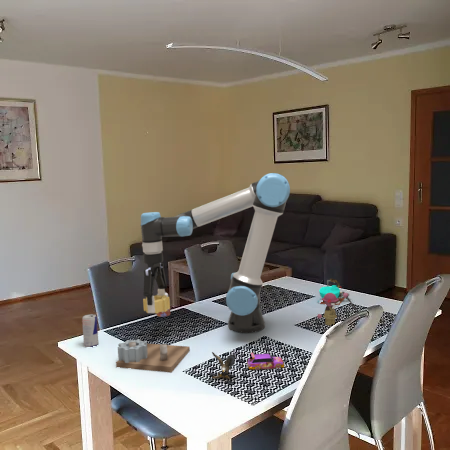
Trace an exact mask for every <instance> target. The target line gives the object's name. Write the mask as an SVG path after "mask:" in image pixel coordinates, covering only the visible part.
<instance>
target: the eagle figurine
mask: <svg viewBox="0 0 450 450" xmlns="http://www.w3.org/2000/svg"><path fill="white" fill-rule="evenodd" d="M211 353H212V356H213V357H215V359H217V360H218V364H219V366H220V367H221V372H217V375H215V376H212V378H213V379H216V378H217V379H220V378H225V379H228V380H230V379H231V378H230V376H229V370H230V371H231V370H232V368H231V367H233V366H234V365H235V361H236V359H237V358H236V357H237V356H236V355H235V354H232V353H231V354H229V355H228V356H227V357H226V358H225V362H223V360H222V359H221V357H220V356H218V355H217V354H216V353H215V352H213V351H212V352H211Z"/></svg>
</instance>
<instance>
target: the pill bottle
mask: <svg viewBox="0 0 450 450" xmlns="http://www.w3.org/2000/svg"><path fill="white" fill-rule="evenodd" d="M165 295H167V297H169V294H168V293H167V292H165ZM169 300H170V301H171V299H170V298H169ZM170 315H171V308H170V309H167V311H166V312H164V311H163V312H159V313H156V316H157V317H160V318H163V317H165V318H166V317H168V316H170Z"/></svg>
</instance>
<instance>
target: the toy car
mask: <svg viewBox="0 0 450 450" xmlns="http://www.w3.org/2000/svg"><path fill="white" fill-rule="evenodd" d="M250 355H251V356H250V357H249V358H248V359H247V361H246V364H247V367H248V369H249V370H255V371H257V370H258V371H260V370H267V369H268V370H269V369H271V370H273V369H281V368H285V363H284V360H283V359H282V357H280V356H272V355H271V354H270V353H258V354H254V352H250Z"/></svg>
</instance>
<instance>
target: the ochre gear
mask: <svg viewBox="0 0 450 450" xmlns="http://www.w3.org/2000/svg"><path fill="white" fill-rule="evenodd" d="M153 296H154V302H155V313H154V314H157V313H159V312H163V311H164V312H166V311H167V309H170V310H171V299H170V296H168V297H167V295H163V296H158V294H156V295H153ZM169 299H170V300H169ZM142 303H143V304H142V305H143V311H144V312H146V313H147V314H149V313H148V307H147V297H145V298H143V299H142Z"/></svg>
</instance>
